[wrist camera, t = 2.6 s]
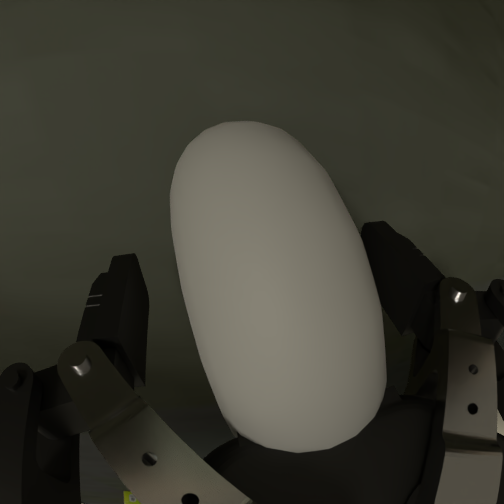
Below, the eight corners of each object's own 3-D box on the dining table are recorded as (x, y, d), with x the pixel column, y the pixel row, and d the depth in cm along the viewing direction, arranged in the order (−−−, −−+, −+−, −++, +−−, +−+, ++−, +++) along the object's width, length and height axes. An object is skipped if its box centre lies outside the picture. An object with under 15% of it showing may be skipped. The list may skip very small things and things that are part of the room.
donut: (289, 293, 16) (365, 478, 8) (225, 310, 16) (268, 508, 7) (260, 90, 10) (519, 229, 2) (165, 111, 10) (72, 360, 2)
